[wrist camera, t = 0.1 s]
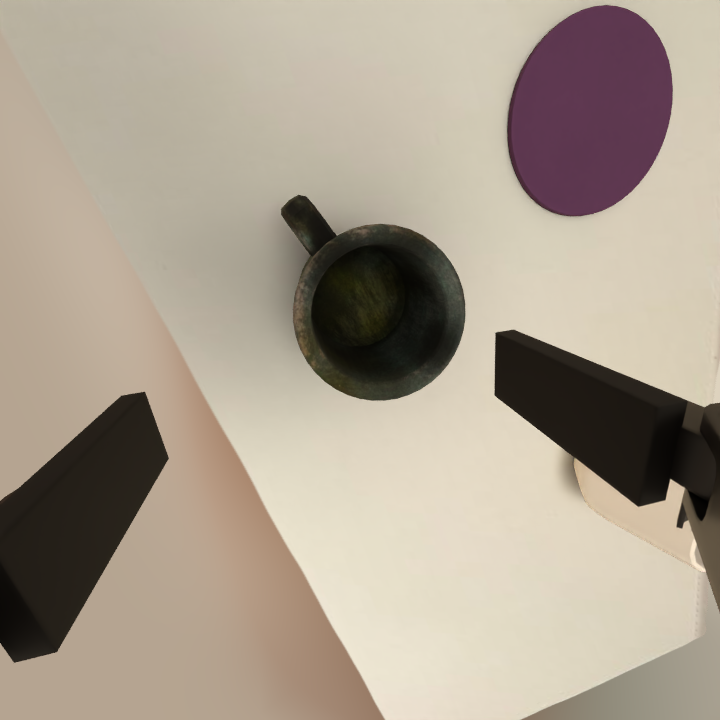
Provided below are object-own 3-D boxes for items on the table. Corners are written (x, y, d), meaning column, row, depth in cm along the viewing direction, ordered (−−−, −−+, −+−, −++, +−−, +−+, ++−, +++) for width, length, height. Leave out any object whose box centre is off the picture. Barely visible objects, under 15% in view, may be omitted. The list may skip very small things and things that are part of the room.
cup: (666, 450, 47) (810, 529, 34) (585, 512, 48) (695, 613, 35) (629, 382, 42) (779, 444, 29) (540, 453, 43) (647, 545, 30)
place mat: (604, -44, 28) (610, -49, 28) (694, 113, 33) (701, 111, 33) (471, 129, 30) (475, 127, 30) (576, 250, 36) (580, 251, 35)
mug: (344, 372, 35) (368, 432, 24) (240, 251, 30) (209, 256, 19) (430, 304, 35) (496, 333, 23) (339, 169, 29) (367, 123, 18)
